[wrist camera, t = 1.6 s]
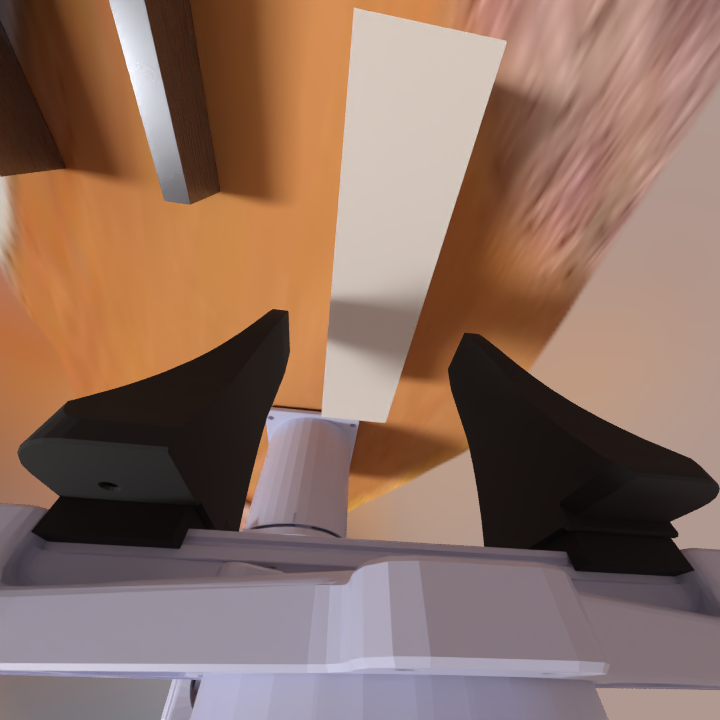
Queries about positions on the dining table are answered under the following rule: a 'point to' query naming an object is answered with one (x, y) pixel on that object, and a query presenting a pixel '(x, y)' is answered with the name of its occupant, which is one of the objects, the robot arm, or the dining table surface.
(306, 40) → the dining table surface
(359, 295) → the rail
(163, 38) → the u-shaped bracket
